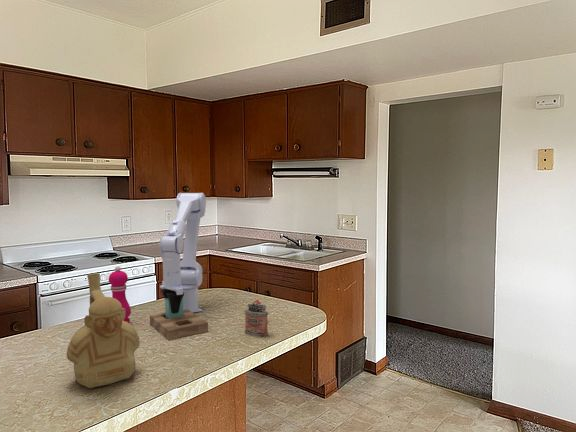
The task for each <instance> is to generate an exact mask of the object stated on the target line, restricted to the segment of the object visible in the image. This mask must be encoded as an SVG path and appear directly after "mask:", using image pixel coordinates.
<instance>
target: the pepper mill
mask: <svg viewBox="0 0 576 432" xmlns="http://www.w3.org/2000/svg"><path fill="white" fill-rule="evenodd" d="M128 279H129V277H128V274H127V272H125V271H123V270H122V269H121V266H115V268H114V271H112V272H111V273H110V274H109V276H108V283H109V284H110V291H111V292H112V294H111V295H112V298H115V299H117V300H118V301H119V302H120V303H121V305H122V308H124V309H125V310H126V315H125V319H124V320H123V321H126V322H128V323H129V324H131V322H130V321H131V320H130V316H131V313H132V308H131V306H130V303H129V301H128V300H127V296H126V290H127V283H128Z"/></svg>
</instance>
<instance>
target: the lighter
mask: <svg viewBox="0 0 576 432" xmlns="http://www.w3.org/2000/svg"><path fill="white" fill-rule="evenodd" d="M266 306H267V305H266V304H265V303H261V304H258V303H257V302H255V303H253V302H248V303H247V307H248V308H246V309H244V316H245V317H244V319H245V321H244V323H245V325H244V326H245V327H244V334H245V335H248V336H252V337H257V338H267V337H268V336H269V332H268V315H269V312H268V311H266ZM262 309H265V311H263V310H262Z"/></svg>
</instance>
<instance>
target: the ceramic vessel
mask: <svg viewBox="0 0 576 432" xmlns="http://www.w3.org/2000/svg"><path fill="white" fill-rule="evenodd" d="M86 278H87V281H88V287H89V307H88V315H85V316H84V319H83V320H84V321H83V322H84V325H82V326H81V327H80V328H79V329H77V330H76V331H75V332H74V333H73V335H72V337H71V339H70V341H69V343H68V345H67V350H66V354H65V355H66V358H67V360H68V361H69V362H71V363H73V372H74V377H75V380H76V382H77V383H78V384H80V385H81V386H83V387H86V388H88V389H94V388H98V387H102V386H107V385H111V384H114V383H118V382H121V381H125V380H128V379H129V378H131V377H132V375H133V373H134V372H135V370H136V357H135V351H136V350H137V349H139V347H140V337H139V335H138V332H137V330H136V328H135V327H134V326H133V325H132V324H131V323H130V324H129V323H128V322H126V321H123V320H124V319H125V315H126V310H125V309H124V308H122V305H121V303H120V302H119V301H118V300H117V299H115V298H112V297H111V296H105V294H104V293H103V291H102V286H101V274H100V272H95V273H91V274H87V277H86Z"/></svg>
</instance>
